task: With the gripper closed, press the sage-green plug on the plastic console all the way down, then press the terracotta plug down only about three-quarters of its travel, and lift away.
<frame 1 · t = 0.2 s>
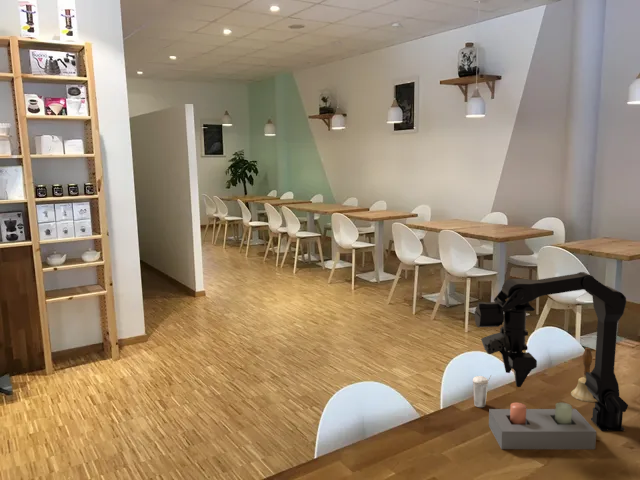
hand: (513, 379, 146), 14 cm above the table, tool pointing down, fingers open, 9 cm apart
hand bell: (585, 396, 166), on the table
terracotta plug: (518, 414, 142), point 7 cm above the table, slide at 0.0 cm
sage plug: (563, 414, 142), point 7 cm above the table, slide at 0.0 cm
console: (539, 436, 143), on the table
milkshake: (481, 405, 161), on the table
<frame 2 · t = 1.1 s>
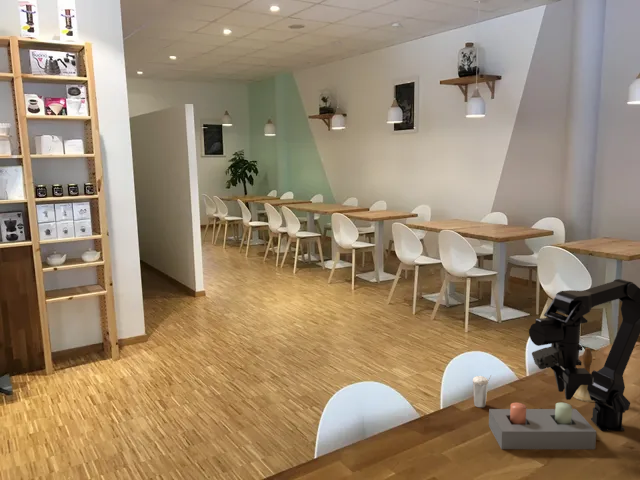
hand: (564, 395, 141), 12 cm above the table, tool pointing down, fingers open, 4 cm apart
nothing on the table moved.
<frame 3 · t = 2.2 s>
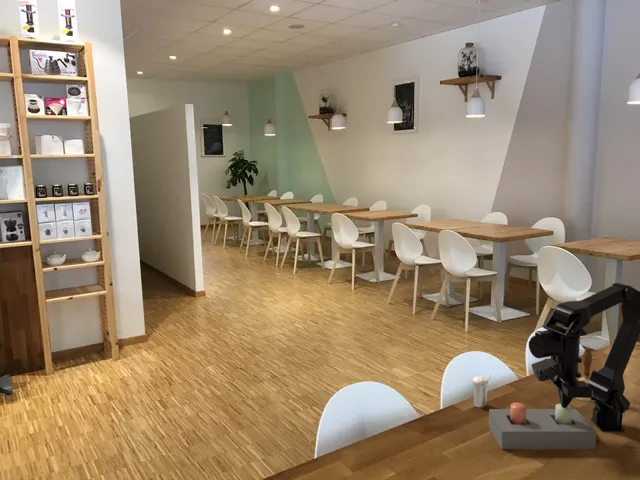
hand: (563, 407, 141), 9 cm above the table, tool pointing down, fingers closed, pressing on sage plug
sage plug: (563, 415, 142), point 6 cm above the table, slide at 0.4 cm, touching gripper
everything else where it was.
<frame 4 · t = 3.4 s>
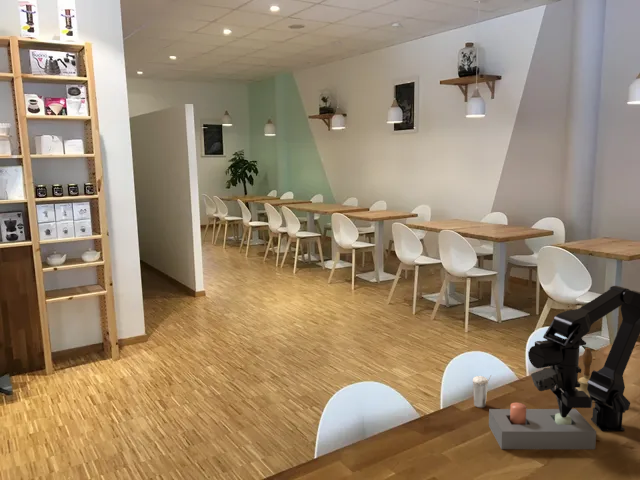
hand: (563, 416, 142), 6 cm above the table, tool pointing down, fingers closed
sage plug: (562, 425, 142), point 3 cm above the table, slide at 3.2 cm
everything else where it was.
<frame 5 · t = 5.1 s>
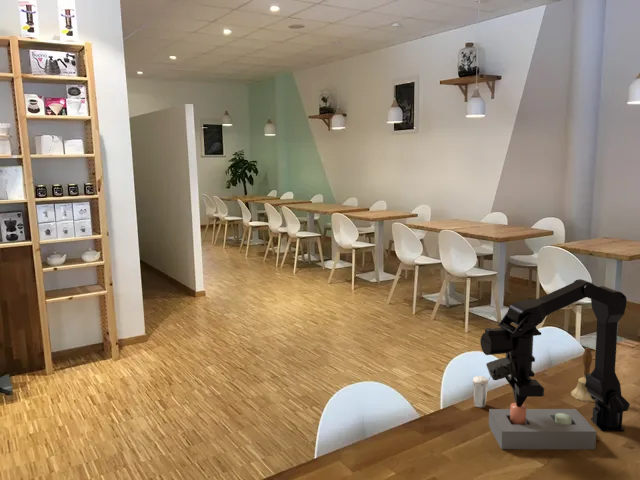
hand: (518, 406, 142), 9 cm above the table, tool pointing down, fingers closed, pressing on terracotta plug
terracotta plug: (518, 414, 142), point 6 cm above the table, slide at 0.0 cm, touching gripper
everything else where it was.
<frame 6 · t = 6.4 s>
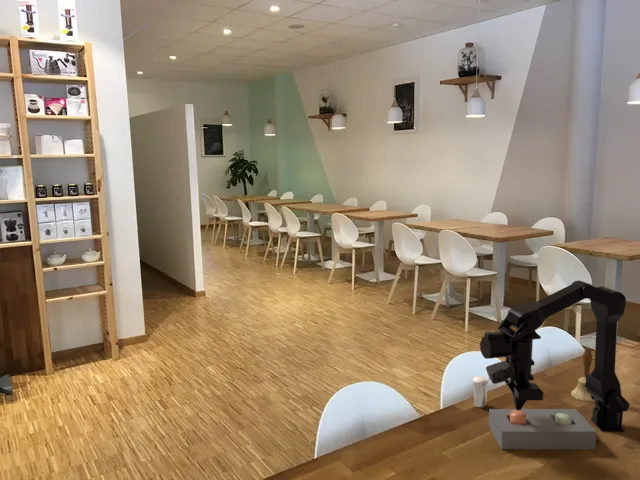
hand: (517, 409, 142), 8 cm above the table, tool pointing down, fingers closed
terracotta plug: (517, 422, 142), point 4 cm above the table, slide at 2.2 cm
everything else where it was.
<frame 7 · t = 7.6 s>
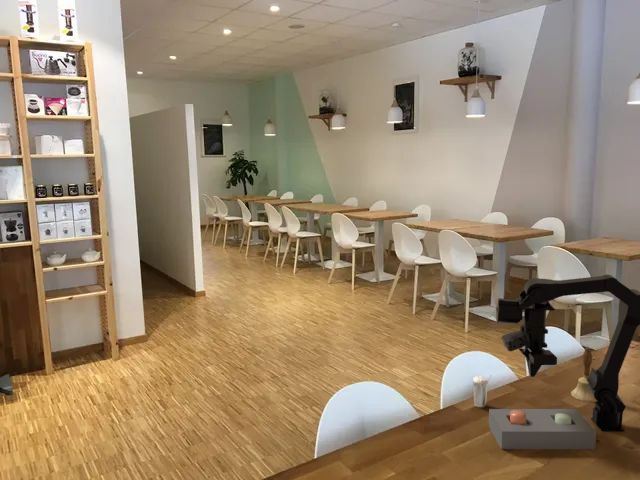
hand: (532, 376, 151), 13 cm above the table, tool pointing down, fingers closed
nothing on the table moved.
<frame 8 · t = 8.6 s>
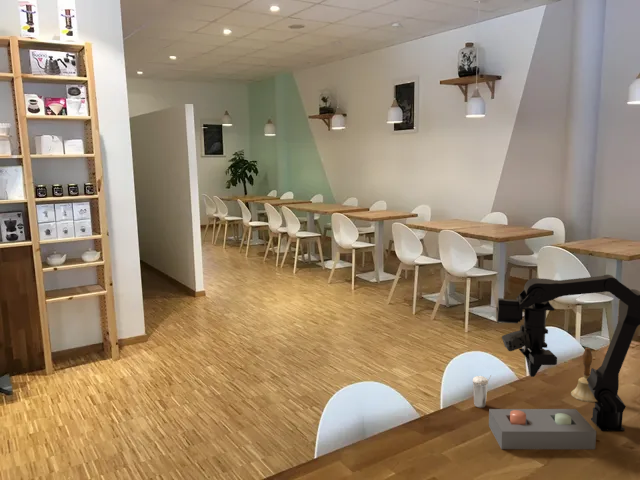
hand: (532, 376, 151), 13 cm above the table, tool pointing down, fingers closed
nothing on the table moved.
at the end: sage plug slide at 3.2 cm; terracotta plug slide at 2.2 cm; milkshake moved 0.2 cm from its start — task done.
